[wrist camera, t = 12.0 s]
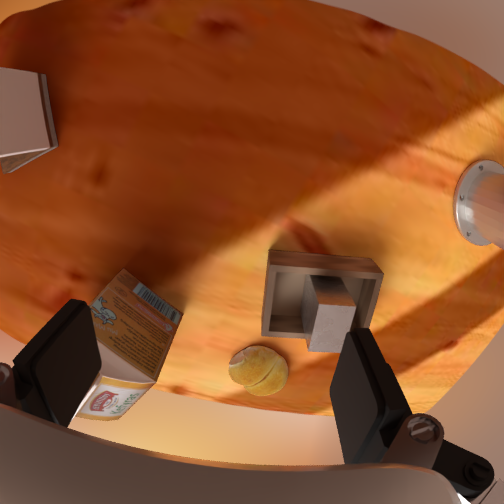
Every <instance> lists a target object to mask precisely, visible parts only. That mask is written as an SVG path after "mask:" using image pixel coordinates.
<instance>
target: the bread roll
mask: <svg viewBox="0 0 504 504" xmlns="http://www.w3.org/2000/svg"><path fill="white" fill-rule="evenodd" d="M229 364H230V366H229V375H230V377H231V378H232V380H233V381H234V382H236V383H238V384H241V385H244V387H245V389H246V390H247V391H248V392H249V393H251V394H253V395H257V396H267V395H271V394H274V393H276V392H278V391H279V390H281V389H282V388H283V387H284V385H285V383H286V381H287V378H288V365H287V363H286V361H285V359H284V358H283V357H282V356H280V355H278V354H277V353H276V352H275V351H274V350H272V349H270V348H268V347H264V346H250V347H248V348H246V349H244V350H242V351H240V352H239V353H238V354H236V355H235V356H234V357H233V358H232V359H231V361H230V363H229Z"/></svg>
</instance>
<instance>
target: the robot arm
mask: <svg viewBox="0 0 504 504" xmlns="http://www.w3.org/2000/svg"><path fill="white" fill-rule="evenodd" d="M453 210H454V218H455V223H456V225H457V228H458V230H459V232H460V233H461V235H462V236H463V237H464V238H465V239H466V240H468V241H469V242H471V243H473V244H475V245H480V246H483V245H488V244H491V243H493V244H495V245H497V246H498V247H500V248H502V249H503V250H504V167H503V166H501V165H500V164H499V163H497V162H495V161H491V160H479V161H476V162H475V163H473V164H471V165H470V166H469V167H468V168H467V169H466V170H465V171H464V173H463V174H462V176H461V178H460V179H459V181H458V184H457V187H456V190H455V195H454V203H453ZM13 363H14V366H13V367H12V368H11V367H10V366H9V365H8V364H6V363H0V504H504V482H503V481H502V480H501V479H498V480H497V481H496V480H494V469H493V467H492V465H491V464H490V463H489V462H488V461H487V460H486V459H484V458H483V457H480V456H478V455H476V454H474V453H472V452H469V451H467V450H465V449H463V448H461V447H458V446H457V445H454V444H452V443H450V442H448V441H446V440H444V439H443V438H444V429H443V426H442V425H441V423H440V422H439V421H438V420H437V419H436V418H434V417H432V416H431V415H428V414H424V413H417V414H412V411H411V409H410V407H409V405H408V403H407V400H406V398H405V396H404V394H403V392H402V390H401V387H400V385H399V383H398V381H397V379H396V377H395V375H394V373H393V371H392V369H391V367H390V365H389V364H388V363H386V361H385V359H384V357H383V355H382V353H381V351H380V349H379V347H378V345H377V343H376V341H375V339H374V337H373V335H372V333H371V331H370V329H369V328H353V329H352V330H351V332H347V333H346V336H345V339H344V343H343V346H342V350H341V353H340V357H339V360H338V363H337V367H336V370H335V373H334V376H333V379H332V382H331V386H330V397H331V402H332V406H333V411H334V415H335V420H336V424H337V429H338V434H339V438H340V443H341V447H342V453H343V458H344V462H345V464H342V465H319V466H318V465H317V466H279V465H278V466H277V465H254V464H238V463H228V462H218V461H210V460H202V459H194V458H188V457H181V456H175V455H169V454H164V453H159V452H153V451H148V450H144V449H140V448H136V447H131V446H127V445H123V444H119V443H116V442H112V441H108V440H104V439H101V438H97V437H94V436H91V435H87V434H84V433H81V432H78V431H75V430H72V429H69V428H67V427H68V425H69V424H70V422H71V420H72V418H73V416H74V415H75V413H76V411H77V409H78V407H79V406H80V404H81V402H82V400H83V399H84V397H85V395H86V393H87V392H88V390H89V388H90V387H91V385H92V383H93V381H94V380H95V378H96V376H97V375H98V373H99V371H100V370H101V367H102V360H101V356H100V352H99V347H98V343H97V339H96V334H95V329H94V324H93V319H92V314H91V309H90V307H89V306H88V305H87V303H86V302H85V301H81V300H76V299H71V300H69V301H68V302H67V303H66V304H65V305H64V306H63V307H62V308H61V309H60V310H59V311H58V312H57V313H56V314H55V315H54V316H53V317H52V318H51V319H50V320H49V321H48V322H47V324H46V325H45V326H44V327H43V328H42V329H41V330H40V331H39V332H38V333H37V334H36V335H35V336H34V337H33V338H32V339H31V341H30V342H29V343H28V344H27V345H26V346H25V347H24V348H23V349H22V351H20V353H19V354H18V355H17V356H16V357H15V358H14V360H13Z"/></svg>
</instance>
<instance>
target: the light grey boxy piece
mask: <svg viewBox="0 0 504 504" xmlns="http://www.w3.org/2000/svg"><path fill="white" fill-rule="evenodd" d="M56 147H58V142H57V137H56V133H55V128H54V123H53V117H52V112H51V106H50V100H49V94H48V88H47V80H46V75H45V74H40V73H34V72H29V71H23V70H16V69H9V68H2V67H0V162H1V166H2V171H3V174H6V173H10V172H12V171H14V170H16V169H18V168H19V167H21V166H23V165H24V164H26V163H28V162H30V161H32V160H33V159H35V158H37V157H39V156H41V155H43V154H45V153H46V152H48V151H50V150H52V149H54V148H56Z"/></svg>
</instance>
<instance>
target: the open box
mask: <svg viewBox="0 0 504 504" xmlns="http://www.w3.org/2000/svg"><path fill="white" fill-rule="evenodd" d="M306 274H310V275H323V276H336V277H341V278H342V280H343V282H344V284H345V286H346V288H347V290H348V292H349V293H350V295H351V297H352V299H353V301H354V303H355V305H356V310H355V313H354V317H353V320H352V324H351V327H350V331H349V332H351V330H352V329H353V328H369V326H370V323H371V319H372V316H373V313H374V309H375V306H376V302H377V298H378V295H379V291H380V287H381V283H382V279H383V275H384V273H383V272H382V271H381V269H380V268H379V267H378V266H377V265H376V263H375V262H374V261H373V260H372V259H370V258H359V257H347V256H336V255H324V254H313V253H301V252H290V251H278V250H269V252H268V261H267V271H266V280H265V289H264V298H263V307H262V326H261V336H268V337H283V338H301V339H306V338H305V333H304V328H303V323H302V318H301V313H300V306H301V301H302V295H303V290H304V284H305V279H306Z"/></svg>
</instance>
